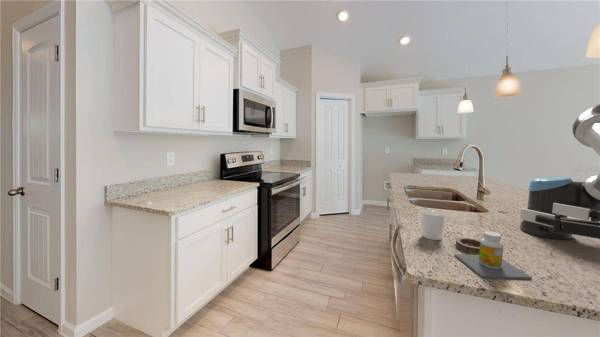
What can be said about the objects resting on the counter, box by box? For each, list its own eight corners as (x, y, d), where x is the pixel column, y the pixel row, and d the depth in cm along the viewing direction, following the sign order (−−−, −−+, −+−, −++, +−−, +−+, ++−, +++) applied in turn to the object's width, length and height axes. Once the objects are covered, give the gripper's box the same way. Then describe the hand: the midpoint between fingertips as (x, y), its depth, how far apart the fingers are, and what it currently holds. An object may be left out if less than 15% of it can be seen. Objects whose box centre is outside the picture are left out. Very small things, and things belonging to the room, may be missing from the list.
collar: (476, 243, 89) (476, 237, 88) (495, 254, 79) (495, 248, 79) (450, 242, 89) (450, 237, 89) (466, 253, 80) (466, 248, 80)
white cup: (446, 241, 90) (448, 216, 89) (424, 240, 92) (425, 215, 91) (438, 234, 98) (440, 210, 97) (418, 232, 99) (419, 209, 98)
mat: (495, 257, 78) (495, 255, 77) (531, 279, 65) (531, 277, 65) (454, 256, 78) (454, 254, 78) (482, 277, 65) (482, 275, 65)
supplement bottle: (474, 260, 74) (476, 230, 73) (490, 259, 74) (492, 230, 73) (489, 269, 69) (491, 237, 68) (506, 268, 69) (509, 236, 68)
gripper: (656, 277, 38) (505, 231, 58) (713, 251, 46) (564, 218, 66) (663, 232, 37) (508, 201, 57) (720, 214, 45) (567, 192, 65)
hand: (537, 210), depth 62 cm, fingers open, 13 cm apart
